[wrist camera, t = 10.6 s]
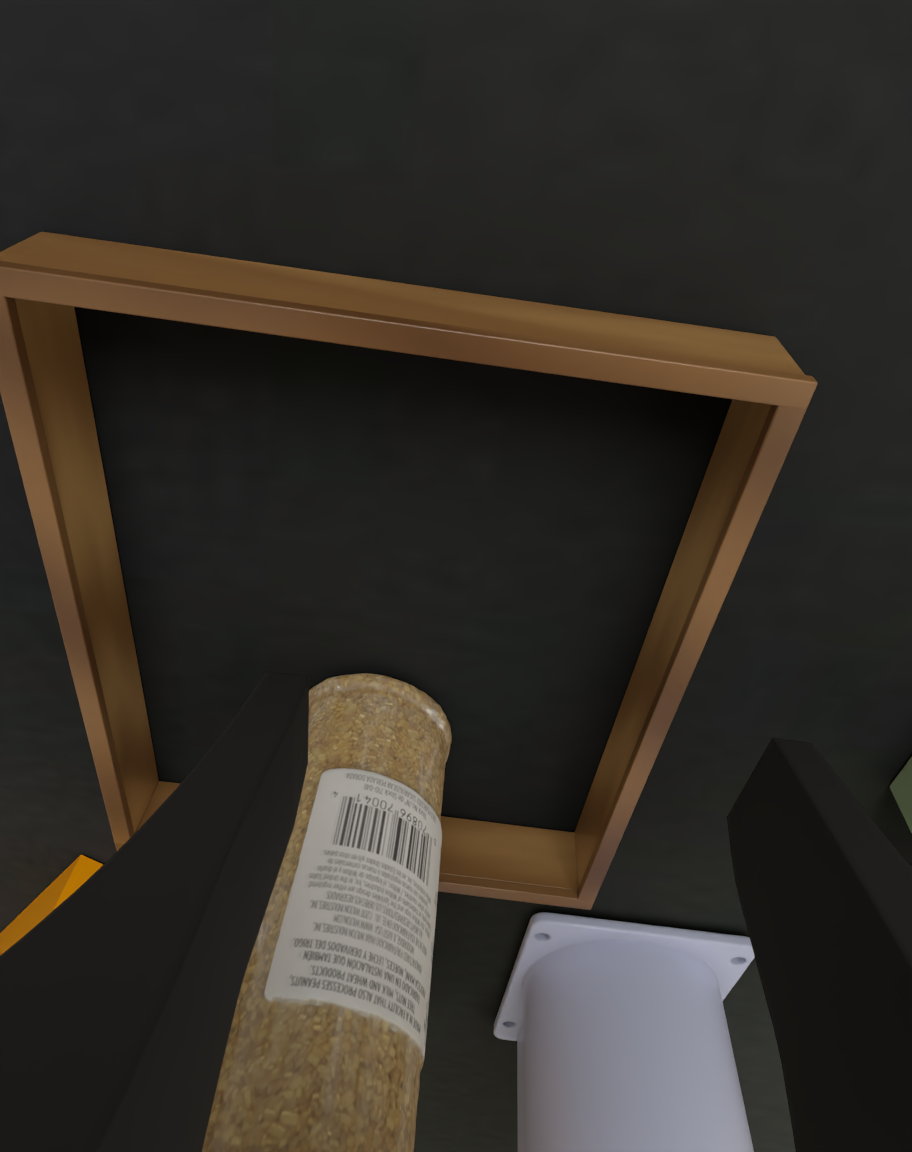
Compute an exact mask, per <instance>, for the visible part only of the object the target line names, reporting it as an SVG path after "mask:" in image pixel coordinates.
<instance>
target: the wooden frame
mask: <svg viewBox="0 0 912 1152" xmlns="http://www.w3.org/2000/svg"><path fill="white" fill-rule="evenodd" d="M74 307H80V308H87V309H94V310H101V311H108V312H116V313H123V314H130V315H137V316H144V317H151V318H158V319H165V320H172V321H180V322H187V323H194V324H201V325H208V326H215V327H222V328H229V329H236V330H243V331H251V332H258V333H265V334H272V335H279V336H286V337H293V338H300V339H307V340H314V341H322V342H329V343H336V344H343V345H350V346H357V347H364V348H371V349H378V350H386V351H393V352H400V353H407V354H414V355H421V356H428V357H435V358H442V359H449V360H457V361H464V362H471V363H478V364H485V365H492V366H499V367H506V368H513V369H520V370H528V371H535V372H542V373H549V374H556V375H563V376H570V377H577V378H584V379H592V380H599V381H606V382H613V383H620V384H627V385H634V386H641V387H648V388H655V389H663V390H670V391H677V392H684V393H691V394H698V395H705V396H712V397H719V398H726V399H732V402H731V405H730V407H729V410H728V413H727V416H726V418H725V421H724V424H723V427H722V429H721V432H720V435H719V438H718V440H717V443H716V446H715V449H714V451H713V454H712V457H711V459H710V462H709V465H708V468H707V470H706V473H705V476H704V479H703V481H702V484H701V487H700V490H699V492H698V495H697V498H696V501H695V503H694V506H693V509H692V512H691V514H690V517H689V520H688V523H687V525H686V528H685V531H684V533H683V536H682V539H681V542H680V544H679V547H678V550H677V553H676V555H675V558H674V561H673V564H672V566H671V569H670V572H669V575H668V577H667V580H666V583H665V586H664V588H663V591H662V594H661V596H660V599H659V602H658V605H657V607H656V610H655V613H654V616H653V618H652V621H651V624H650V627H649V629H648V632H647V635H646V638H645V640H644V643H643V646H642V649H641V651H640V654H639V657H638V659H637V662H636V665H635V668H634V670H633V673H632V676H631V679H630V681H629V684H628V687H627V690H626V692H625V695H624V698H623V701H622V703H621V706H620V709H619V712H618V714H617V717H616V720H615V722H614V725H613V728H612V731H611V733H610V736H609V739H608V742H607V744H606V747H605V750H604V753H603V755H602V758H601V761H600V764H599V766H598V769H597V772H596V775H595V777H594V780H593V783H592V785H591V788H590V791H589V794H588V796H587V799H586V802H585V805H584V807H583V810H582V813H581V816H580V818H579V821H578V824H577V827H576V829H575V832H566V831H558V830H550V829H542V828H534V827H526V826H518V825H510V824H502V823H494V822H486V821H478V820H470V819H462V818H454V817H446V816H441V828H442V844H441V857H440V870H439V884H438V891H439V892H448V893H456V894H464V895H472V896H480V897H489V898H497V899H505V900H513V901H521V902H530V903H538V904H546V905H554V906H562V907H571V908H579V909H587V910H591V908H592V905H593V903H594V901H595V898H596V896H597V894H598V891H599V889H600V887H601V884H602V882H603V880H604V877H605V875H606V873H607V870H608V868H609V866H610V864H611V861H612V859H613V857H614V854H615V852H616V850H617V847H618V845H619V843H620V840H621V838H622V836H623V833H624V831H625V829H626V826H627V824H628V822H629V819H630V817H631V815H632V813H633V810H634V808H635V806H636V803H637V801H638V799H639V796H640V794H641V792H642V789H643V787H644V785H645V782H646V780H647V778H648V775H649V773H650V771H651V769H652V766H653V764H654V762H655V759H656V757H657V755H658V752H659V750H660V748H661V745H662V743H663V741H664V738H665V736H666V734H667V731H668V729H669V727H670V724H671V722H672V720H673V718H674V715H675V713H676V711H677V708H678V706H679V704H680V701H681V699H682V697H683V694H684V692H685V690H686V687H687V685H688V683H689V680H690V678H691V676H692V673H693V671H694V669H695V667H696V664H697V662H698V660H699V657H700V655H701V653H702V650H703V648H704V646H705V643H706V641H707V639H708V636H709V634H710V632H711V629H712V627H713V625H714V622H715V620H716V618H717V616H718V613H719V611H720V609H721V606H722V604H723V602H724V599H725V597H726V595H727V592H728V590H729V588H730V585H731V583H732V581H733V578H734V576H735V574H736V571H737V569H738V567H739V565H740V562H741V560H742V558H743V555H744V553H745V551H746V548H747V546H748V544H749V541H750V539H751V537H752V534H753V532H754V530H755V527H756V525H757V523H758V520H759V518H760V516H761V514H762V511H763V509H764V507H765V504H766V502H767V500H768V497H769V495H770V493H771V490H772V488H773V486H774V483H775V481H776V479H777V476H778V474H779V472H780V469H781V467H782V465H783V463H784V460H785V458H786V456H787V453H788V451H789V449H790V446H791V444H792V442H793V439H794V437H795V435H796V432H797V430H798V428H799V425H800V423H801V421H802V418H803V416H804V414H805V412H806V409H807V407H808V405H809V402H810V400H811V398H812V395H813V393H814V391H815V388H816V386H817V381H816V380H815V379H814V378H813V377H812V376H807V375H805V374H804V373H803V372H802V370H801V369H800V368H799V366H798V365H797V364H796V363H795V361H794V360H793V359H792V357H791V356H790V355H789V354H788V352H787V351H786V350H785V348H784V347H783V346H782V344H781V343H780V342H779V341H778V339H777V338H776V337H774V336H767V335H760V334H753V333H746V332H739V331H732V330H725V329H718V328H711V327H704V326H697V325H691V324H684V323H677V322H670V321H663V320H656V319H649V318H642V317H635V316H628V315H621V314H614V313H607V312H600V311H593V310H586V309H579V308H572V307H565V306H558V305H551V304H544V303H537V302H530V301H523V300H516V299H509V298H502V297H495V296H488V295H481V294H474V293H467V292H460V291H453V290H446V289H439V288H432V287H425V286H418V285H411V284H404V283H397V282H390V281H383V280H376V279H369V278H362V277H355V276H348V275H341V274H334V273H327V272H320V271H313V270H306V269H299V268H292V267H285V266H279V265H272V264H265V263H258V262H251V261H244V260H237V259H230V258H223V257H216V256H209V255H202V254H195V253H188V252H181V251H174V250H167V249H160V248H153V247H146V246H139V245H132V244H125V243H118V242H111V241H104V240H97V239H90V238H83V237H76V236H69V235H62V234H55V233H48V232H39V233H37V234H35V235H33V236H31V237H29V238H27V239H25V240H23V241H21V242H19V243H17V244H15V245H13V246H11V247H9V248H7V249H5V250H3V251H1V252H0V393H1V397H2V401H3V405H4V409H5V413H6V417H7V421H8V425H9V429H10V433H11V437H12V440H13V444H14V448H15V452H16V456H17V460H18V464H19V468H20V472H21V476H22V480H23V484H24V488H25V492H26V496H27V500H28V504H29V507H30V511H31V515H32V519H33V523H34V527H35V531H36V535H37V539H38V543H39V547H40V551H41V555H42V559H43V563H44V567H45V570H46V574H47V578H48V582H49V586H50V590H51V594H52V598H53V602H54V606H55V610H56V614H57V618H58V622H59V626H60V630H61V634H62V637H63V641H64V645H65V649H66V653H67V657H68V661H69V665H70V669H71V673H72V677H73V681H74V685H75V689H76V693H77V697H78V700H79V704H80V708H81V712H82V716H83V720H84V724H85V728H86V732H87V736H88V740H89V744H90V748H91V752H92V756H93V760H94V764H95V767H96V771H97V775H98V779H99V783H100V787H101V791H102V795H103V799H104V803H105V807H106V811H107V815H108V819H109V823H110V827H111V830H112V834H113V838H114V842H115V846H116V850H117V851H118V850H119V849H120V848H121V847H122V846H123V845H124V844H125V843H126V842H127V841H128V840H129V839H130V838H131V837H132V836H133V835H134V834H135V833H136V832H137V831H138V830H139V828H140V827H141V826H142V825H143V824H144V823H145V822H146V821H147V820H148V819H149V818H150V817H151V815H152V814H153V813H154V812H155V811H156V810H157V809H158V808H159V807H160V806H161V805H162V803H163V802H164V801H165V800H166V799H167V798H168V797H169V796H170V795H171V794H172V793H173V791H174V790H175V789H176V788H177V787H178V786H179V785H180V784H181V783H173V782H165V781H159V778H158V773H157V767H156V762H155V756H154V750H153V745H152V739H151V734H150V728H149V722H148V717H147V711H146V706H145V700H144V694H143V689H142V683H141V678H140V672H139V667H138V661H137V655H136V650H135V644H134V639H133V633H132V627H131V622H130V616H129V611H128V605H127V599H126V594H125V588H124V583H123V577H122V571H121V566H120V560H119V555H118V549H117V543H116V538H115V532H114V527H113V521H112V515H111V510H110V504H109V499H108V493H107V487H106V482H105V476H104V471H103V465H102V459H101V454H100V448H99V443H98V437H97V431H96V426H95V420H94V415H93V409H92V403H91V398H90V392H89V387H88V381H87V375H86V370H85V364H84V359H83V353H82V348H81V342H80V336H79V331H78V325H77V320H76V314H75V308H74Z"/></svg>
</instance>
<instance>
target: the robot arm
mask: <svg viewBox="0 0 912 1152" xmlns="http://www.w3.org/2000/svg"><path fill="white" fill-rule="evenodd" d="M308 727H309V677H308V676H300V675H293V674H285V673H278V672H270V671H269V672H268V673H266V674H264V675H263V676H262V677H261V679H260V680H259V682H258V683H257V685H256V686H255V688H254V689H253V691H252V692H251V694H250V695H249V697H248V698H247V700H246V701H245V703H244V704H243V705H242V707H241V708H240V710H239V711H238V712H237V714H236V715H235V716H234V718H233V719H232V720H231V722H230V723H229V724H228V726H227V727H226V728H225V730H224V731H223V732H222V734H221V735H220V736H219V737H218V739H217V740H216V741H215V743H214V744H213V745H212V746H211V747H210V749H209V750H208V751H207V752H206V754H205V755H204V756H203V757H202V758H201V760H200V761H199V762H198V763H197V764H196V766H195V767H194V768H193V769H192V770H191V772H190V773H189V774H188V775H187V777H186V778H185V779H184V780H183V781H182V782H181V784H180V785H179V786H178V787H177V788H176V789H175V790H174V791H173V793H172V794H171V795H170V796H169V797H168V798H167V799H166V800H165V801H164V802H163V803H162V805H161V806H160V807H159V808H158V809H157V810H156V811H155V812H154V813H153V814H152V815H151V817H150V818H149V819H148V820H147V821H146V822H145V823H144V824H143V825H142V826H141V827H140V828H139V830H138V831H137V832H136V833H135V834H134V835H133V836H132V837H131V838H130V839H129V840H128V841H127V842H126V843H125V844H124V845H123V846H122V847H121V848H120V849H119V850H118V851H117V852H116V853H115V854H114V855H113V856H112V857H111V858H110V859H109V860H108V861H107V862H106V863H105V864H104V865H103V866H101V867H100V868H99V869H98V870H97V871H96V872H95V873H94V874H93V875H92V876H91V877H90V878H89V879H88V880H87V881H86V882H85V883H83V884H82V885H81V886H80V887H79V888H78V889H77V890H76V891H75V892H74V893H73V894H71V895H70V896H69V897H68V898H67V899H66V900H65V901H63V902H62V903H61V904H60V905H59V906H58V907H57V908H56V909H54V910H53V911H52V912H51V913H50V914H49V915H48V916H46V917H45V918H44V919H43V920H42V921H41V922H40V923H38V924H37V925H36V926H35V927H34V928H33V929H32V930H30V931H29V932H28V933H27V934H26V935H24V936H23V937H22V938H21V939H20V940H18V941H17V942H16V943H15V944H14V945H12V946H11V947H10V948H9V949H8V950H6V951H5V952H4V953H3V954H1V955H0V1152H202V1149H203V1144H204V1140H205V1135H206V1131H207V1127H208V1123H209V1118H210V1114H211V1110H212V1105H213V1101H214V1097H215V1092H216V1088H217V1084H218V1079H219V1075H220V1071H221V1067H222V1062H223V1058H224V1054H225V1050H226V1046H227V1042H228V1037H229V1033H230V1029H231V1025H232V1021H233V1017H234V1013H235V1008H236V1004H237V1000H238V996H239V993H240V989H241V986H242V983H243V979H244V976H245V972H246V969H247V966H248V963H249V960H250V957H251V954H252V951H253V948H254V945H255V942H256V939H257V936H258V933H259V930H260V927H261V924H262V921H263V918H264V915H265V912H266V909H267V906H268V903H269V900H270V897H271V894H272V891H273V888H274V885H275V882H276V879H277V876H278V873H279V870H280V867H281V864H282V861H283V858H284V855H285V852H286V849H287V846H288V843H289V840H290V837H291V834H292V831H293V828H294V824H295V820H296V815H297V811H298V806H299V802H300V797H301V793H302V788H303V784H304V779H305V774H306V770H307V765H308ZM727 821H728V829H729V838H730V847H731V855H732V862H733V868H734V875H735V882H736V886H737V890H738V894H739V898H740V902H741V906H742V910H743V914H744V918H745V921H746V925H747V929H748V933H749V937H746V936H739V935H730V934H722V933H714V932H706V931H698V930H689V929H681V928H673V927H665V926H656V925H648V924H640V923H632V922H624V921H615V920H607V919H599V918H591V917H583V916H574V915H566V914H558V913H550V912H540V913H536V914H534V915H533V916H532V917H531V918H530V921H529V924H528V927H527V930H526V933H525V935H524V938H523V941H522V944H521V947H520V950H519V953H518V956H517V959H516V961H515V964H514V967H513V970H512V973H511V976H510V979H509V982H508V985H507V987H506V990H505V993H504V996H503V999H502V1002H501V1005H500V1008H499V1011H498V1013H497V1016H496V1019H495V1022H494V1035H495V1036H496V1037H497V1038H499V1039H504V1040H512V1041H517V1103H518V1152H754V1150H753V1146H752V1141H751V1136H750V1131H749V1127H748V1122H747V1117H746V1112H745V1107H744V1103H743V1098H742V1093H741V1088H740V1083H739V1079H738V1074H737V1069H736V1064H735V1059H734V1055H733V1050H732V1045H731V1040H730V1036H729V1031H728V1026H727V1021H726V1016H725V1012H724V1007H723V1002H722V1001H723V1000H724V999H725V997H726V996H727V994H728V993H729V992H730V990H731V989H732V988H733V986H734V985H735V983H736V982H737V981H738V979H739V978H740V977H741V975H742V974H743V972H744V971H745V970H746V968H747V967H748V966H749V964H750V963H751V961H752V960H753V959H754V957H755V959H756V963H757V967H758V971H759V974H760V978H761V982H762V986H763V990H764V993H765V997H766V1001H767V1005H768V1008H769V1012H770V1016H771V1020H772V1023H773V1027H774V1031H775V1036H776V1040H777V1045H778V1049H779V1054H780V1058H781V1063H782V1068H783V1074H784V1081H785V1087H786V1093H787V1099H788V1105H789V1111H790V1117H791V1123H792V1129H793V1135H794V1142H795V1149H796V1152H912V867H911V866H910V865H909V864H908V863H907V861H906V860H905V859H904V858H903V857H902V855H901V854H900V853H899V852H898V851H897V849H896V848H895V847H894V846H893V845H892V843H891V842H890V841H889V840H888V838H887V837H886V836H885V835H884V833H883V832H882V831H881V830H880V829H879V827H878V826H877V825H876V824H875V822H874V821H873V820H872V819H871V817H870V816H869V815H868V813H867V812H866V811H865V810H864V808H863V807H862V806H861V805H860V803H859V802H858V801H857V800H856V798H855V797H854V796H853V795H852V793H851V792H850V791H849V790H848V788H847V787H846V786H845V785H844V783H843V782H842V781H841V779H840V778H839V777H838V776H837V774H836V773H835V772H834V771H833V769H832V768H831V767H830V766H829V764H828V763H827V762H826V761H825V759H824V758H823V757H822V756H821V755H820V753H819V752H818V751H817V750H816V749H815V747H814V746H813V745H812V744H811V743H807V742H800V741H792V740H784V739H777V738H772V739H771V741H770V743H769V745H768V746H767V748H766V750H765V752H764V753H763V755H762V757H761V759H760V760H759V762H758V764H757V766H756V767H755V769H754V771H753V773H752V774H751V776H750V778H749V780H748V781H747V783H746V785H745V787H744V788H743V790H742V792H741V794H740V795H739V797H738V799H737V801H736V802H735V804H734V806H733V808H732V809H731V811H730V813H729V815H728V816H727Z"/></svg>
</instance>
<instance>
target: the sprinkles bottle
mask: <svg viewBox="0 0 912 1152" xmlns="http://www.w3.org/2000/svg"><path fill="white" fill-rule="evenodd" d="M451 741H452V734H451V728H450V724H449V722H448V720H447V717H446V715H445V713H444V712H443V710H442V708H441V706H439V705H438V704H437V703H436V702H435V701H434V700H433V699H432V698H431V697H430V696H428V695H427V694H426V693H425V692H423V691H420V690H418V689H417V688H416V687H414V686H412V685H410V684H407V683H406V682H403V681H400V680H397V679H394V678H391V677H388V676H383V675H378V674H370V673H360V674H351V675H342V676H336V677H331V678H327V679H326V680H324V681H323V682H321V683H320V684H318V685H315V686H314V687H312V688H311V689H310V690H309V727H308V765H307V770H306V774H305V779H304V784H303V788H302V793H301V797H300V802H299V806H298V811H297V815H296V820H295V824H294V828H293V831H292V834H291V837H290V840H289V843H288V846H287V849H286V852H285V855H284V858H283V861H282V864H281V867H280V870H279V873H278V876H277V879H276V882H275V885H274V888H273V891H272V894H271V897H270V900H269V903H268V906H267V909H266V912H265V915H264V918H263V921H262V924H261V927H260V930H259V933H258V936H257V939H256V942H255V945H254V948H253V951H252V954H251V957H250V960H249V963H248V966H247V969H246V972H245V976H244V979H243V983H242V986H241V989H240V993H239V996H238V1000H237V1004H236V1008H235V1013H234V1017H233V1021H232V1025H231V1029H230V1033H229V1037H228V1042H227V1046H226V1050H225V1054H224V1058H223V1062H222V1067H221V1071H220V1075H219V1079H218V1084H217V1088H216V1092H215V1097H214V1101H213V1105H212V1110H211V1114H210V1118H209V1123H208V1127H207V1131H206V1135H205V1140H204V1144H203V1149H202V1152H413V1150H414V1140H415V1126H416V1115H417V1102H418V1094H419V1078H420V1072H421V1069H422V1067H423V1062H424V1055H425V1045H426V1033H427V1020H428V1008H429V995H430V983H431V971H432V959H433V947H434V935H435V922H436V910H437V897H438V884H439V870H440V857H441V844H442V828H441V807H442V798H443V783H444V772H445V763H446V762H447V758H448V755H449V751H450V745H451Z"/></svg>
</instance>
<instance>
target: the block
mask: <svg viewBox="0 0 912 1152" xmlns="http://www.w3.org/2000/svg"><path fill="white" fill-rule="evenodd" d="M890 789H891V791H892V793H893V795H894V797H895V800H896V802H897V804H898V806H899V808H900V810H901V812H902V814H903V816H904V818H905V821H906V823H907V825H908V827H909V829H910V831H911V833H912V757H911V758H910V759H909V761H908V762H907V763H906V765H905V766H904V767H903V769H902V770H901V771H900V773H899V774H898V775H897V777H896V778H895V779H894V781H893V782H892V784H891V785H890Z"/></svg>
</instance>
